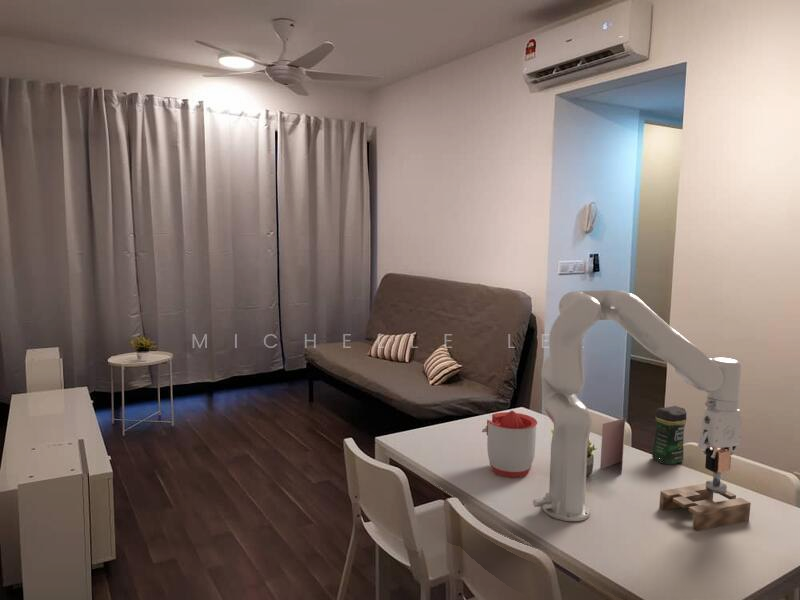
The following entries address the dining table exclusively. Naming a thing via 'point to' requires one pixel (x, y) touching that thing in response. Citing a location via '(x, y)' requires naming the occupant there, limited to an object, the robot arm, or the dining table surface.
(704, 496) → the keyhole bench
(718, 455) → the keyhole peg
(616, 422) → the greeting card
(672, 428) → the coffee jar
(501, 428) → the citrus juicer
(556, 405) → the robot arm
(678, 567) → the dining table surface
